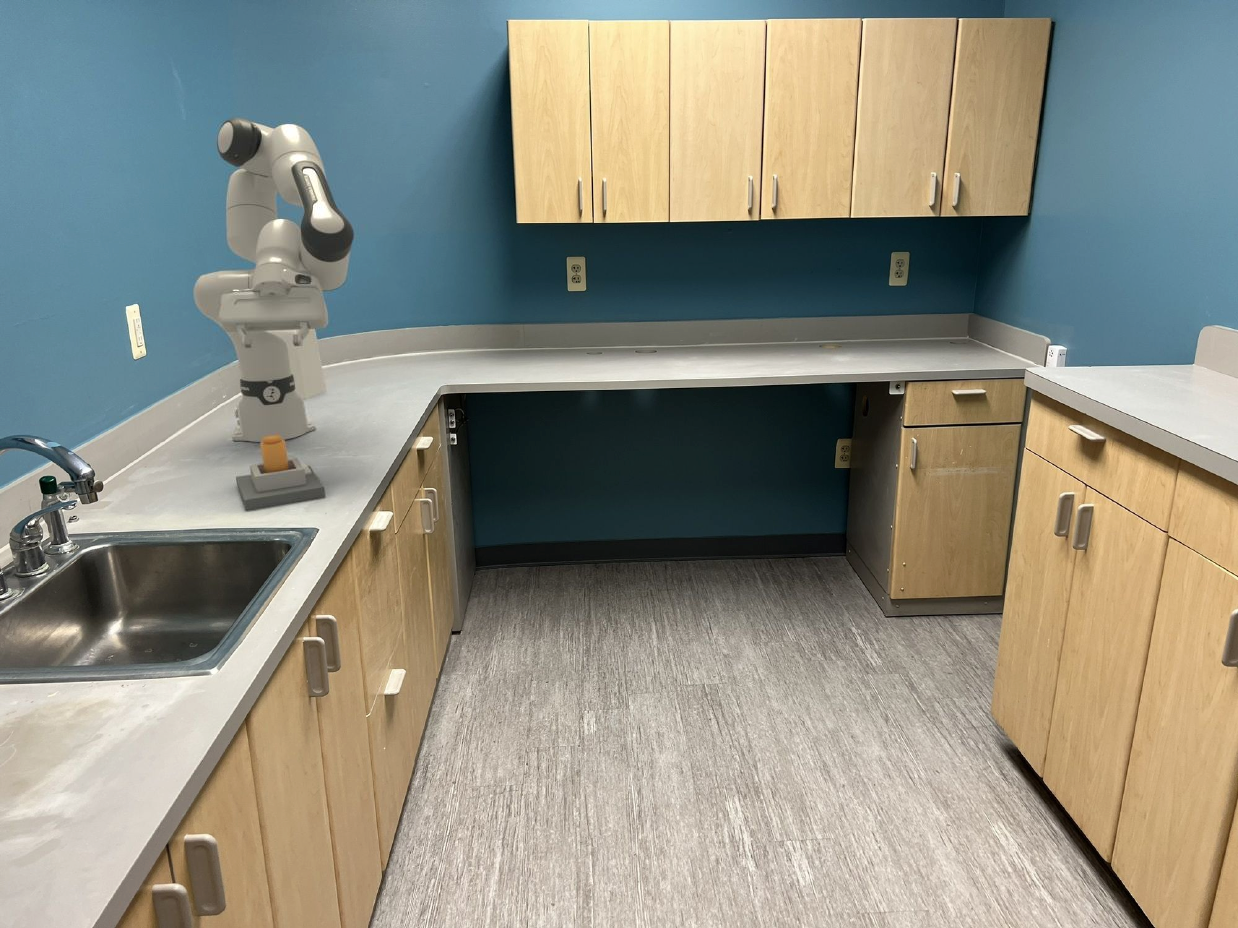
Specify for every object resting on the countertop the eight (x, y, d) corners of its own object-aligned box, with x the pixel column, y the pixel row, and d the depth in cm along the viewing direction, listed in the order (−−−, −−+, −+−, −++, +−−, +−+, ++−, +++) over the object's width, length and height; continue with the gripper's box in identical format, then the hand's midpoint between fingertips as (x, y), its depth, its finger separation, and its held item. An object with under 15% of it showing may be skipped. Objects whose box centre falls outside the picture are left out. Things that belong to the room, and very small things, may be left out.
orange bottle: (265, 480, 167) (257, 436, 165) (288, 476, 169) (282, 432, 167) (268, 486, 164) (260, 441, 161) (292, 482, 166) (285, 437, 163)
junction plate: (237, 486, 171) (233, 462, 169) (310, 474, 177) (307, 451, 176) (246, 510, 157) (241, 484, 156) (325, 496, 164) (322, 471, 162)
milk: (326, 390, 256) (315, 302, 248) (305, 399, 245) (293, 307, 237) (289, 390, 258) (277, 302, 250) (267, 398, 247) (254, 307, 240)
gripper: (217, 280, 170) (210, 338, 163) (325, 277, 173) (322, 333, 166) (227, 300, 175) (220, 357, 169) (331, 297, 178) (329, 352, 172)
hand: (272, 345), depth 168 cm, fingers open, 8 cm apart
